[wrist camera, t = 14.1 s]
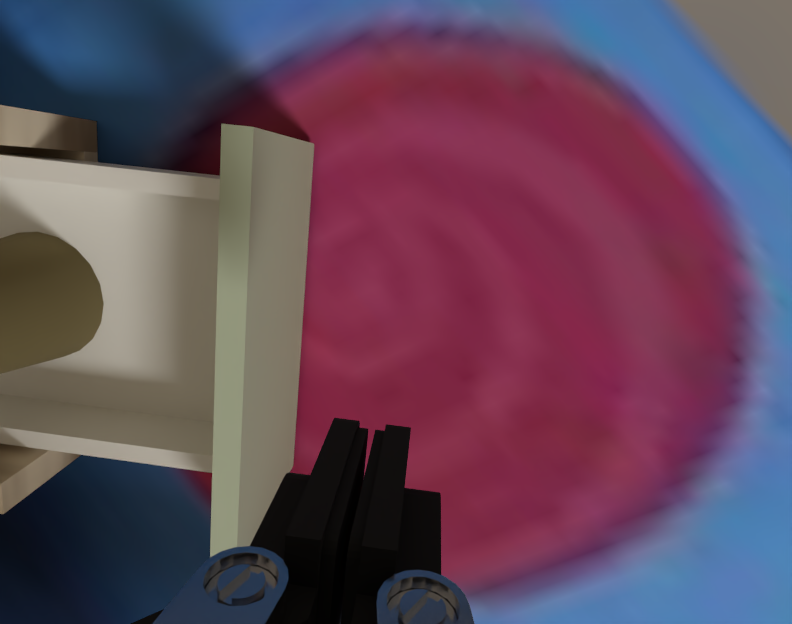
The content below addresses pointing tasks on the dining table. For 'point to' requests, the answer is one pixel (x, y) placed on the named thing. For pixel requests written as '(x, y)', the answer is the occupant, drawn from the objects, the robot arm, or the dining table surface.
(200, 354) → the drawer
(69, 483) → the dining table surface
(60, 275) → the cork
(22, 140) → the caddy
